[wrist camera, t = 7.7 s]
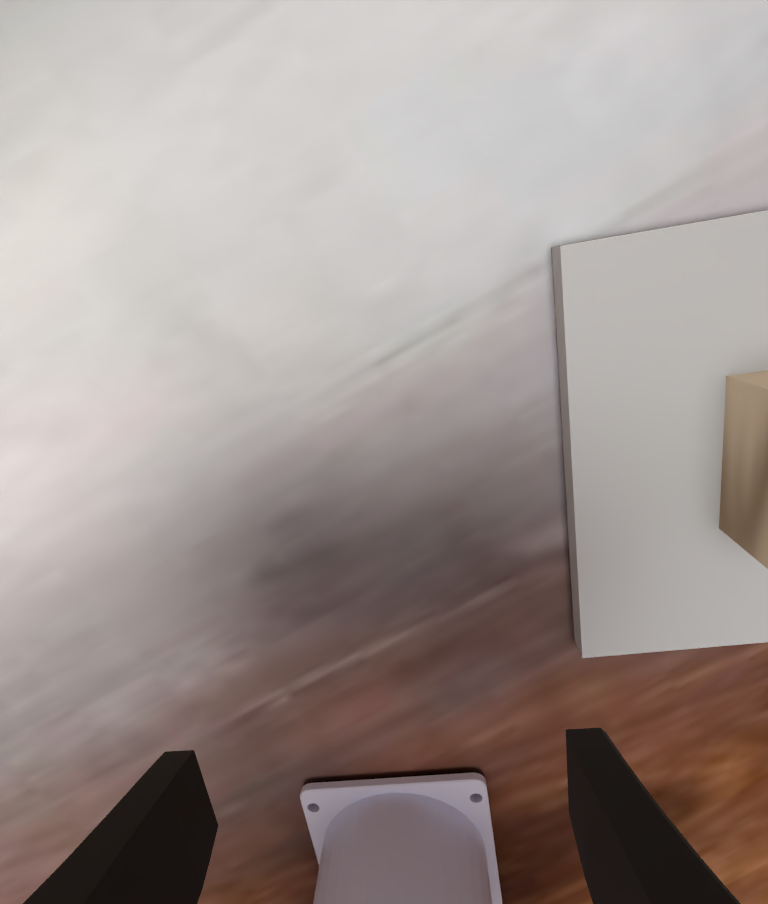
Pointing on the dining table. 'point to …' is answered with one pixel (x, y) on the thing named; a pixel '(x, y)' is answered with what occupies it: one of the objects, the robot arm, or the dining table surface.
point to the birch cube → (746, 464)
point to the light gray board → (658, 432)
